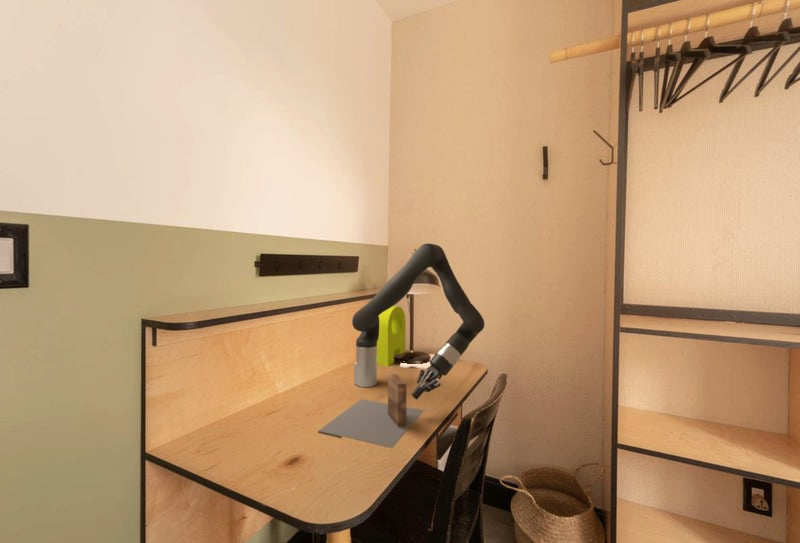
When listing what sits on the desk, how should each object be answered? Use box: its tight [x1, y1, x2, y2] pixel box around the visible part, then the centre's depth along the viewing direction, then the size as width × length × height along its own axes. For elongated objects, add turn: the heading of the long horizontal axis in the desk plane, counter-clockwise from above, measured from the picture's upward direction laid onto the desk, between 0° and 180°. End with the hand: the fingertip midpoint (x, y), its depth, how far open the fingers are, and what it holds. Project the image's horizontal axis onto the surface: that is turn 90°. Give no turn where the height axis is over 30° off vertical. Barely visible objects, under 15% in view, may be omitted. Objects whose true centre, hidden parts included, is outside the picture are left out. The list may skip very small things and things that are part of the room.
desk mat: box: [317, 398, 425, 449], centre depth 119 cm, size 26×28×1 cm
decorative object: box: [377, 305, 407, 367], centre depth 192 cm, size 20×7×30 cm, turn 152°
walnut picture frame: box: [387, 373, 408, 427], centre depth 119 cm, size 3×10×14 cm, turn 21°
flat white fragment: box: [399, 353, 436, 370], centre depth 190 cm, size 21×4×25 cm
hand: (413, 397), depth 121 cm, fingers closed
